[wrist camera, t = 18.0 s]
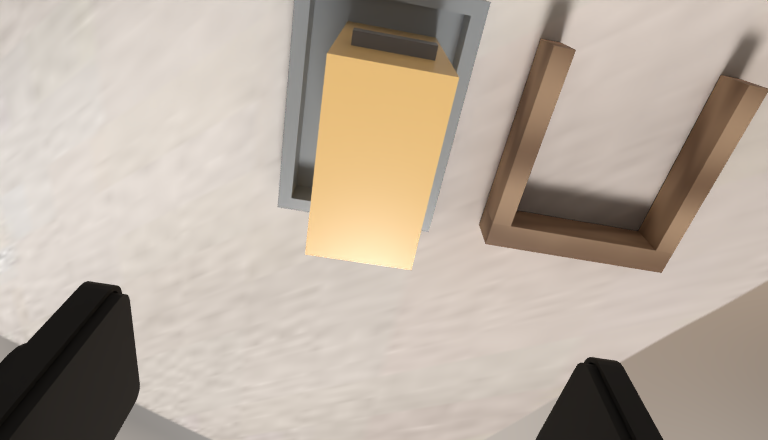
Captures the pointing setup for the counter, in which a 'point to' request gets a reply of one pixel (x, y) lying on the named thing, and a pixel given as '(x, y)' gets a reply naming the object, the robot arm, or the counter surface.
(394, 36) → the yellow block
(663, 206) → the walnut bay
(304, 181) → the grey tray
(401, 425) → the counter surface
